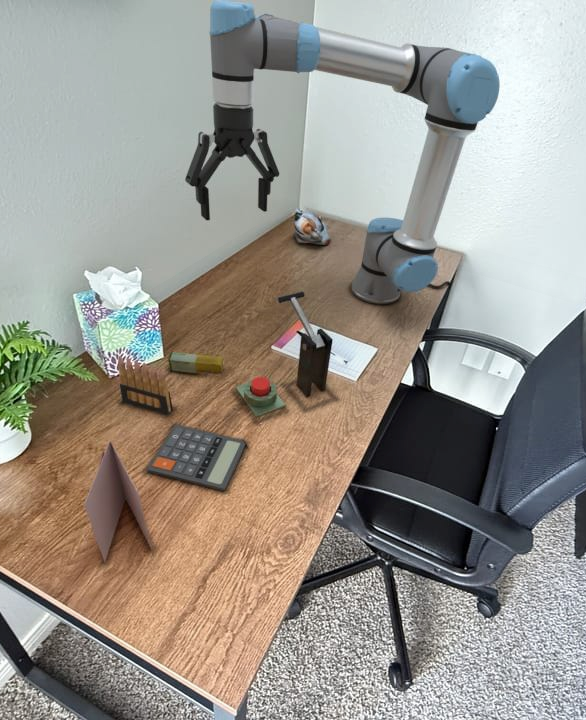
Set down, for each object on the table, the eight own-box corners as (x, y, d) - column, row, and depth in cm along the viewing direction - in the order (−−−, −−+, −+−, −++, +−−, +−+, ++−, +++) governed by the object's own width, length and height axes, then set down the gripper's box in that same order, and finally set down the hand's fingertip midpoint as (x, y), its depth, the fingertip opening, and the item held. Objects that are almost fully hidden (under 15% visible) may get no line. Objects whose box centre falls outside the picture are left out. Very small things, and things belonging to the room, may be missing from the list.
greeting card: (120, 497, 80) (104, 439, 71) (164, 498, 81) (154, 441, 71) (98, 561, 71) (77, 505, 62) (148, 562, 72) (134, 506, 62)
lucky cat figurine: (337, 244, 169) (335, 218, 156) (309, 260, 167) (305, 235, 154) (314, 218, 175) (311, 191, 162) (287, 233, 173) (282, 207, 160)
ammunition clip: (173, 409, 97) (167, 365, 90) (168, 415, 96) (162, 371, 88) (127, 396, 99) (118, 352, 91) (122, 401, 97) (112, 357, 90)
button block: (235, 393, 103) (235, 379, 101) (263, 383, 106) (263, 370, 104) (256, 422, 97) (256, 408, 94) (285, 411, 100) (286, 397, 98)
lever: (276, 300, 100) (279, 294, 98) (300, 295, 103) (303, 288, 101) (305, 355, 96) (309, 350, 94) (328, 348, 99) (333, 342, 97)
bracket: (285, 386, 107) (289, 330, 97) (314, 375, 110) (321, 320, 101) (305, 410, 101) (312, 354, 91) (335, 399, 105) (345, 343, 95)
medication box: (169, 371, 106) (167, 359, 104) (173, 363, 108) (170, 350, 106) (221, 376, 106) (220, 364, 104) (224, 368, 108) (223, 356, 106)
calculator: (175, 423, 93) (246, 440, 91) (175, 426, 94) (246, 443, 92) (146, 468, 84) (224, 488, 82) (146, 471, 84) (224, 491, 83)
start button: (247, 387, 100) (247, 380, 98) (264, 381, 102) (264, 374, 100) (256, 398, 97) (256, 391, 96) (273, 392, 99) (273, 385, 98)
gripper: (279, 98, 96) (275, 200, 109) (161, 100, 84) (172, 215, 97) (299, 107, 91) (292, 212, 105) (176, 110, 79) (186, 228, 92)
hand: (234, 213), depth 101 cm, fingers open, 13 cm apart
